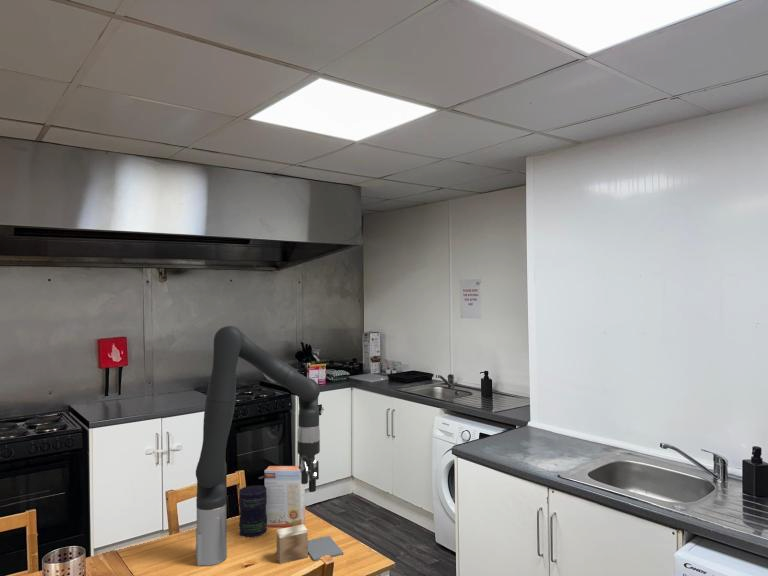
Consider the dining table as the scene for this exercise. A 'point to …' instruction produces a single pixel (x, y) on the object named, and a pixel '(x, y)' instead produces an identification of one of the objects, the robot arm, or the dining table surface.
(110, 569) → the dining table surface
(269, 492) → the cracker box
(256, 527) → the storage jar
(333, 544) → the mat
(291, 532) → the brown and white block
